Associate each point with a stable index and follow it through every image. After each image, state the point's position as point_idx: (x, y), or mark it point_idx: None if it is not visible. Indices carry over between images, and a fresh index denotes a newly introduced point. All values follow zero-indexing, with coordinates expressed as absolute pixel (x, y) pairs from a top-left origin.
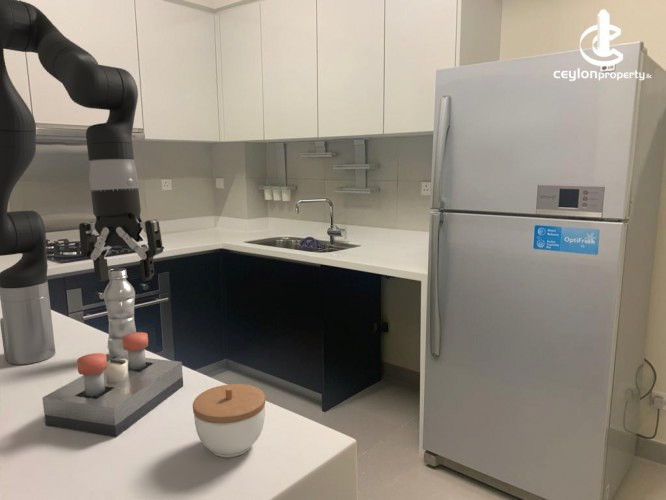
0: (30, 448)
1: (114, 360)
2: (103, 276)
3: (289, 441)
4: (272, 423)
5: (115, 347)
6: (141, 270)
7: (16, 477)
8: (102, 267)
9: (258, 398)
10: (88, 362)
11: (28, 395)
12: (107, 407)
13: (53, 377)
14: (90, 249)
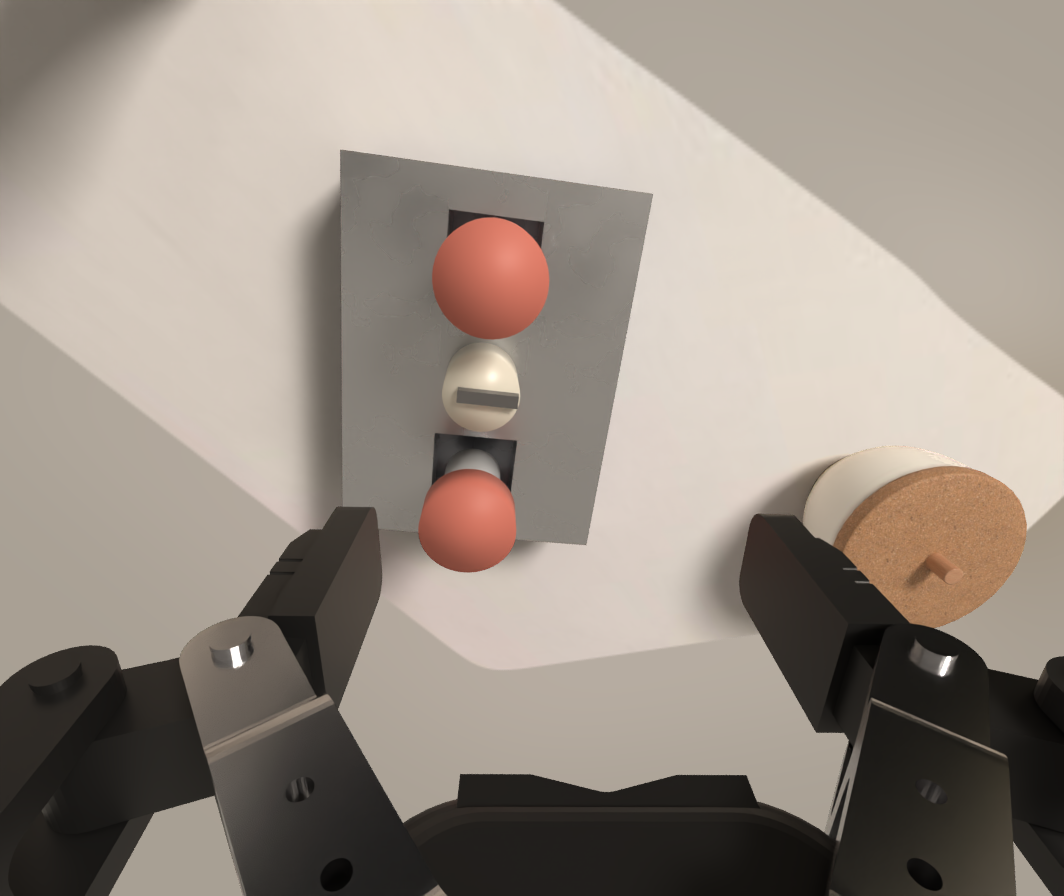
0: (409, 566)
1: (477, 404)
2: (371, 579)
3: (982, 459)
4: (945, 391)
5: None
6: (776, 654)
7: (464, 640)
8: (347, 631)
9: (1011, 549)
10: (482, 563)
11: (140, 340)
12: (567, 543)
13: (77, 185)
14: (76, 779)
